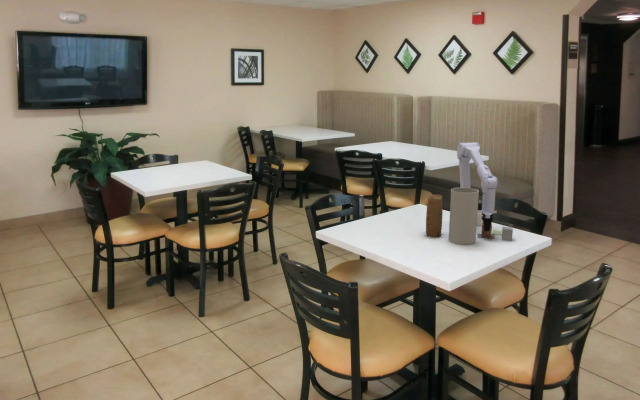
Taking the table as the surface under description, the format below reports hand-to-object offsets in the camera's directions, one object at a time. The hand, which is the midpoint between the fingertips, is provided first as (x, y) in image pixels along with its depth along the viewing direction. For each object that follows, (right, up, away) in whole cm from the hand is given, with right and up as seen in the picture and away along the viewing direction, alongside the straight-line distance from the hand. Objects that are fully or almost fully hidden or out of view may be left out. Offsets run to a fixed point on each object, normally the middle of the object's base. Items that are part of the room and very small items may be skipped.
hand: (486, 229), depth 262 cm
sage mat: (+9, -3, +6) cm, 11 cm away
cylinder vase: (-14, -6, -6) cm, 16 cm away
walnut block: (0, -4, +1) cm, 4 cm away
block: (-25, -3, +5) cm, 26 cm away
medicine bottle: (+2, +1, +23) cm, 23 cm away
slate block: (+8, -5, -4) cm, 11 cm away
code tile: (0, -4, +1) cm, 4 cm away
